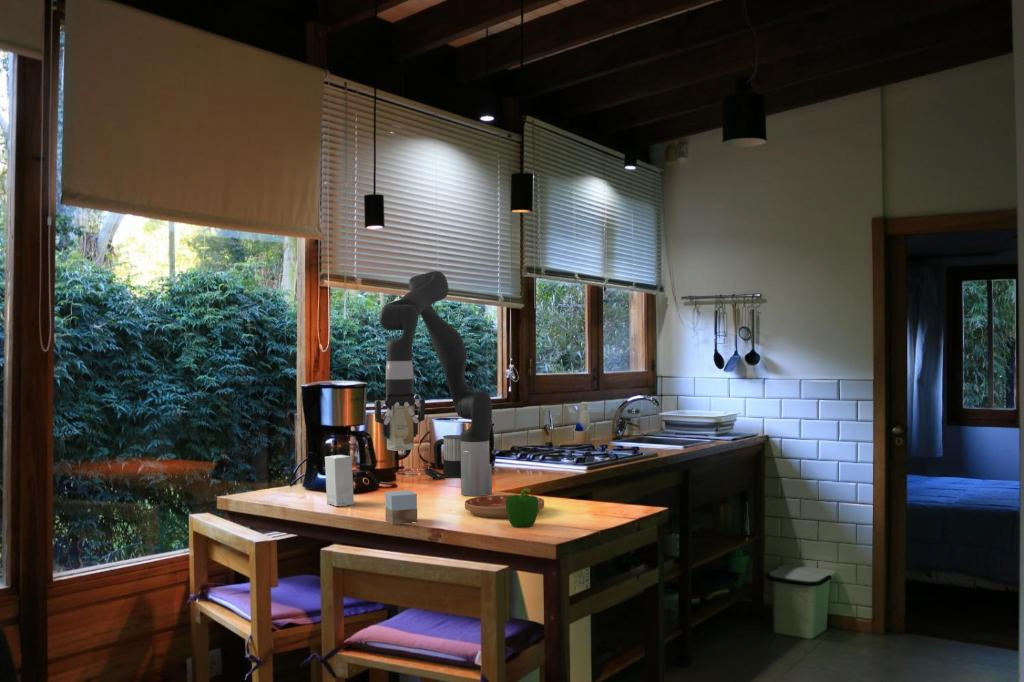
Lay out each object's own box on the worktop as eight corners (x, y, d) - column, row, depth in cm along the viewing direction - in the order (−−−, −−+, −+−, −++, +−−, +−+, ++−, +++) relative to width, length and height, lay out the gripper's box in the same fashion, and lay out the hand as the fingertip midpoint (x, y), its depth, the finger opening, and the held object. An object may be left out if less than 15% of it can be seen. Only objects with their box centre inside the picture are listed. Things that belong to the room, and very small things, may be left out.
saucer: (449, 511, 266) (449, 499, 266) (513, 503, 279) (513, 491, 279) (494, 524, 247) (494, 510, 247) (560, 514, 261) (560, 501, 261)
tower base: (409, 518, 256) (409, 504, 256) (417, 523, 249) (417, 508, 249) (385, 521, 253) (385, 506, 253) (392, 525, 246) (392, 510, 246)
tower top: (409, 504, 256) (409, 490, 256) (416, 508, 249) (416, 494, 249) (385, 506, 253) (385, 492, 253) (391, 510, 246) (391, 496, 246)
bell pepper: (500, 525, 245) (499, 487, 245) (525, 521, 249) (524, 484, 249) (518, 530, 238) (518, 491, 238) (543, 526, 243) (543, 488, 243)
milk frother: (471, 474, 338) (471, 434, 338) (459, 481, 323) (458, 439, 323) (434, 473, 341) (434, 434, 341) (420, 480, 326) (420, 438, 326)
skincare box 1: (354, 505, 277) (353, 456, 277) (335, 507, 273) (335, 457, 273) (343, 501, 284) (342, 453, 284) (324, 503, 280) (324, 455, 280)
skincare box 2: (395, 451, 247) (394, 406, 247) (386, 450, 250) (385, 405, 250) (414, 449, 251) (414, 404, 251) (405, 448, 254) (405, 404, 254)
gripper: (420, 376, 257) (421, 435, 257) (370, 377, 251) (371, 437, 252) (428, 377, 250) (429, 437, 250) (377, 378, 245) (377, 440, 245)
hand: (400, 437), depth 251 cm, fingers closed on skincare box 2, 7 cm apart
